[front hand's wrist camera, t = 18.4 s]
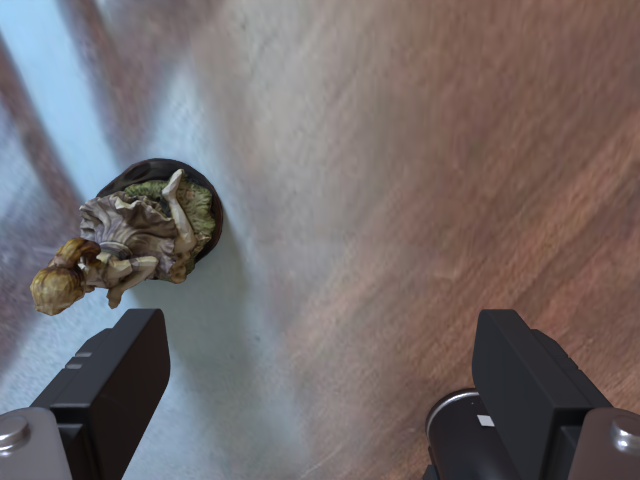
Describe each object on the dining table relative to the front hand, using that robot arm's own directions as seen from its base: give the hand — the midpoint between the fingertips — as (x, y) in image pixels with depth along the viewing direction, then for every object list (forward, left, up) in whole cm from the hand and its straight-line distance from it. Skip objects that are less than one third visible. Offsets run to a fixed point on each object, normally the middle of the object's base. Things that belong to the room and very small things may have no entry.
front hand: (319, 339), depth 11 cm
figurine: (-9, +12, -28) cm, 32 cm away
